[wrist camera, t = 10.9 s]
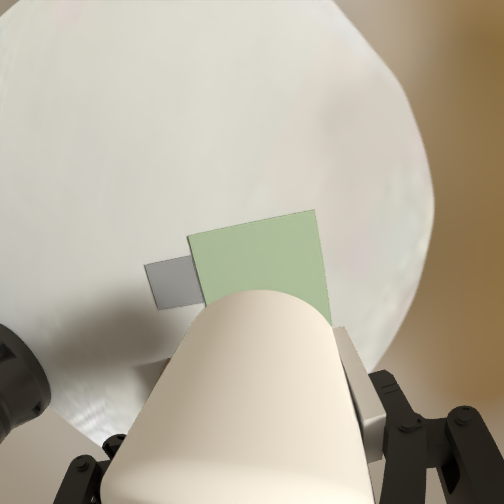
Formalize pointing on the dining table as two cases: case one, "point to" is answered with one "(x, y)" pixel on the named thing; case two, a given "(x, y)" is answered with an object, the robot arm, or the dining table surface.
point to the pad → (264, 259)
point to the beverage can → (247, 414)
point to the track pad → (174, 283)
